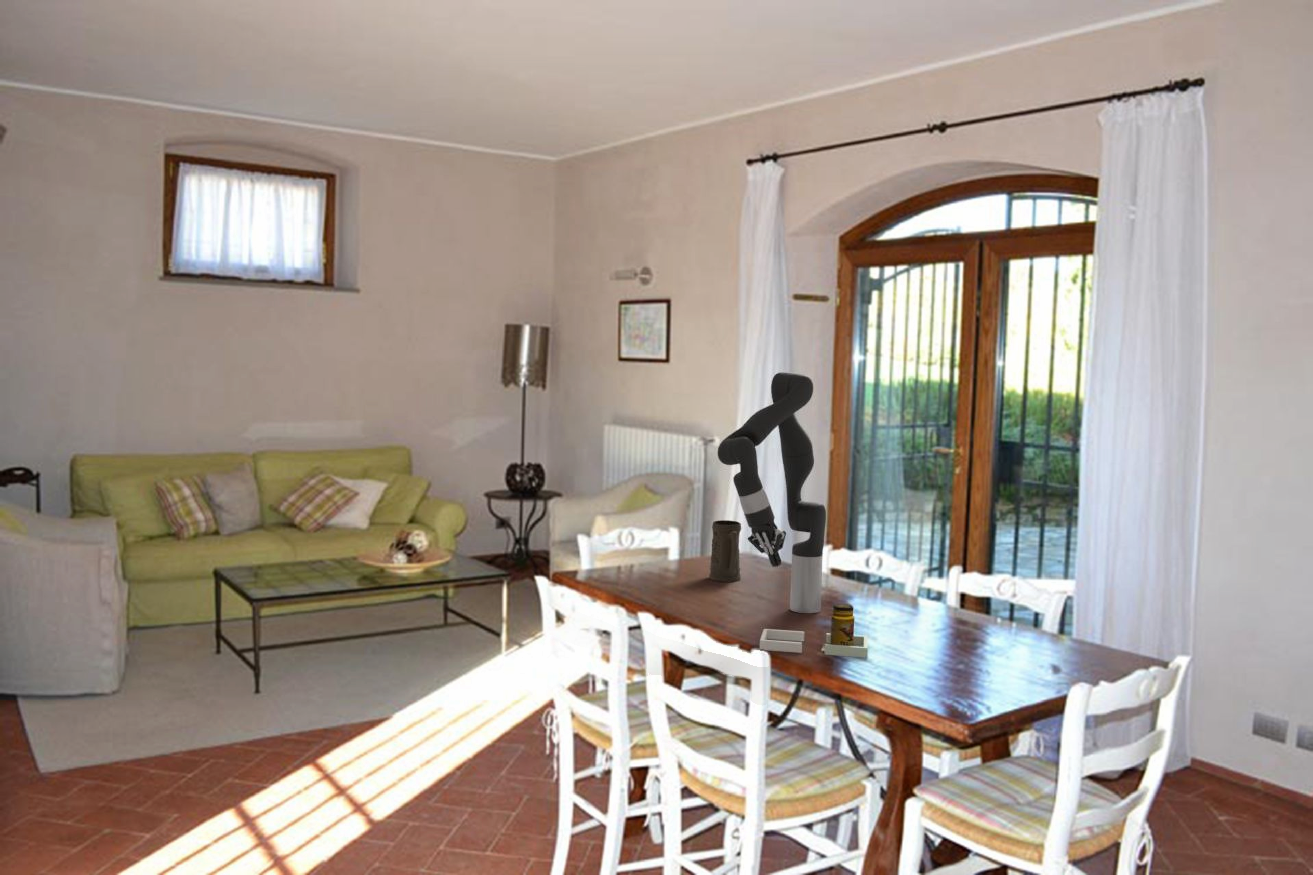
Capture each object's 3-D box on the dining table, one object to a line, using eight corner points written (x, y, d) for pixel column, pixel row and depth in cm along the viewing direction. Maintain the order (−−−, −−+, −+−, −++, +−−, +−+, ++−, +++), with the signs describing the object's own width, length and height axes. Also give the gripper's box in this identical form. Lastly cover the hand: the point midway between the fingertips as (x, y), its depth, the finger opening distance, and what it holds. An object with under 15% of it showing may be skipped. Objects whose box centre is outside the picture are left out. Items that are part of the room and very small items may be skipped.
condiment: (853, 654, 292) (855, 609, 291) (820, 651, 294) (822, 606, 293) (855, 647, 299) (857, 603, 298) (823, 644, 301) (825, 600, 300)
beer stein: (702, 575, 386) (706, 519, 383) (730, 573, 391) (733, 518, 388) (723, 588, 373) (727, 529, 370) (751, 585, 377) (755, 528, 374)
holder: (763, 637, 306) (764, 628, 306) (803, 640, 304) (804, 631, 304) (759, 649, 294) (759, 640, 294) (801, 652, 292) (801, 643, 292)
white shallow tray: (826, 642, 303) (826, 633, 303) (867, 645, 301) (867, 636, 301) (824, 654, 291) (825, 645, 291) (867, 657, 289) (867, 648, 289)
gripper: (782, 499, 301) (803, 558, 303) (747, 504, 311) (767, 561, 313) (765, 510, 296) (786, 570, 298) (730, 514, 306) (751, 572, 308)
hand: (777, 565), depth 305 cm, fingers closed
